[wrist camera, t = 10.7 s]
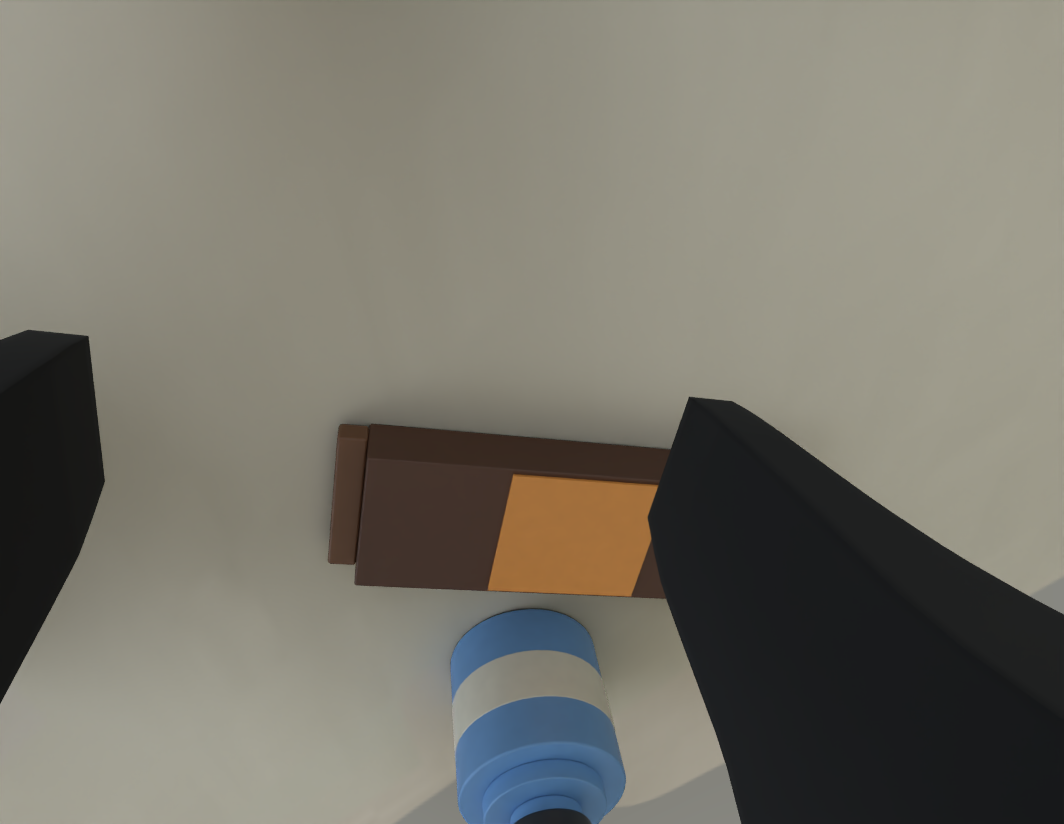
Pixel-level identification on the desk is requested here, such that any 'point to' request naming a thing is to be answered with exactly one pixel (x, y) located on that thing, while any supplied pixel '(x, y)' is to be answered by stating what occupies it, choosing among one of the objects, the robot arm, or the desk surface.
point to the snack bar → (494, 512)
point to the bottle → (532, 723)
